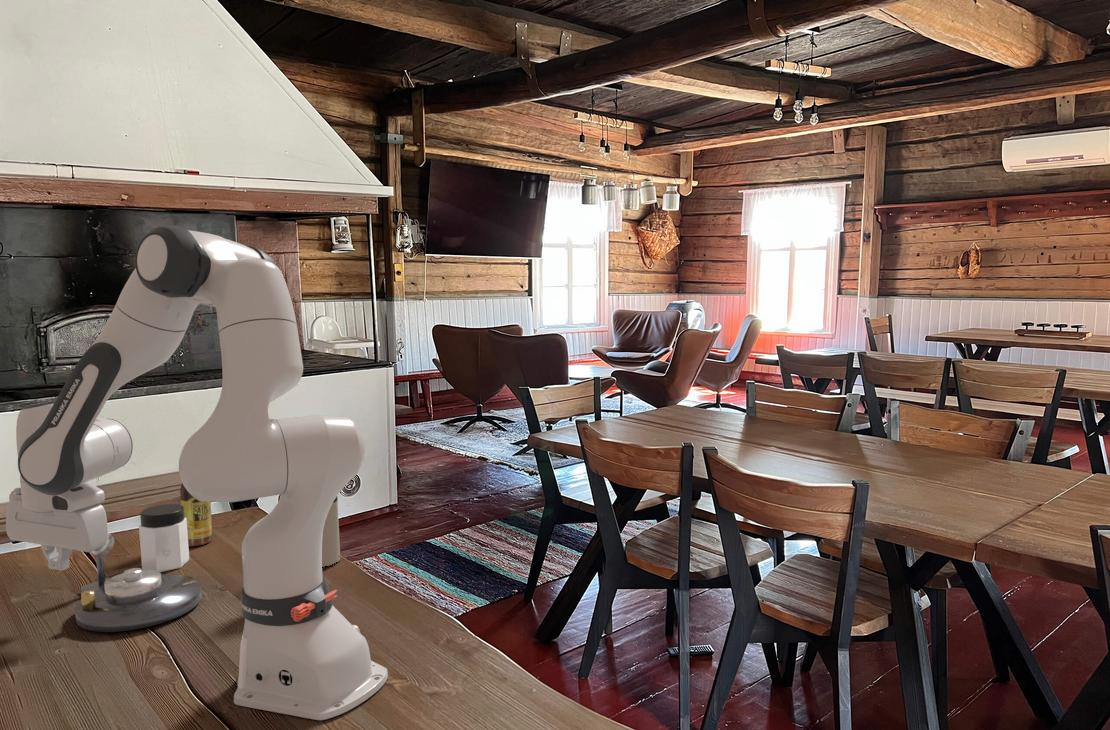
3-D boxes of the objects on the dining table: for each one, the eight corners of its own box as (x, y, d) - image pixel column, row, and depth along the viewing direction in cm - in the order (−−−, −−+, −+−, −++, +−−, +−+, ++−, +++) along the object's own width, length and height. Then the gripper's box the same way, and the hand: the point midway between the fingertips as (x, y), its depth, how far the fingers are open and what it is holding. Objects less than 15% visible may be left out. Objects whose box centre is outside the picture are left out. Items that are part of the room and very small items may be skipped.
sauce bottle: (197, 549, 169) (191, 461, 166) (175, 546, 171) (169, 459, 168) (219, 539, 175) (214, 454, 172) (198, 536, 177) (192, 453, 175)
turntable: (183, 575, 152) (181, 551, 151) (216, 607, 137) (214, 580, 136) (65, 605, 139) (63, 578, 138) (88, 643, 124) (86, 614, 123)
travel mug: (314, 572, 155) (310, 486, 152) (293, 563, 160) (289, 479, 158) (347, 560, 161) (344, 477, 158) (326, 552, 166) (322, 471, 164)
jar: (145, 576, 153) (140, 518, 152) (139, 564, 160) (135, 508, 159) (193, 566, 159) (189, 510, 157) (185, 554, 165) (182, 501, 164)
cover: (171, 592, 139) (169, 568, 138) (119, 609, 132) (117, 585, 131) (147, 581, 144) (145, 558, 144) (96, 597, 137) (94, 573, 137)
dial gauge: (130, 590, 147) (126, 531, 145) (104, 599, 142) (100, 539, 141) (107, 583, 150) (102, 525, 149) (81, 592, 146) (76, 533, 144)
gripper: (-9, 491, 132) (-1, 567, 134) (78, 503, 126) (85, 583, 127) (27, 481, 138) (33, 554, 140) (112, 492, 132) (118, 569, 133)
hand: (59, 568), depth 134 cm, fingers closed
